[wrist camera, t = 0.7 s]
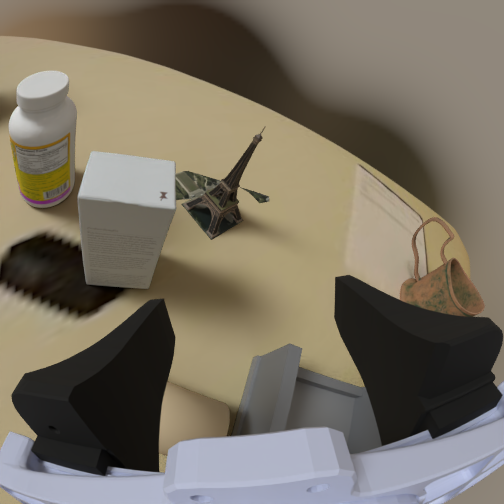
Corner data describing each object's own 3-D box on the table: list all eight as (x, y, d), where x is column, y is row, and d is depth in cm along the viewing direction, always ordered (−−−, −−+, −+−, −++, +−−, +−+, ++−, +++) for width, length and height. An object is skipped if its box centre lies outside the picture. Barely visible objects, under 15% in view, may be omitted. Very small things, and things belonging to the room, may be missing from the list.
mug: (395, 242, 49) (443, 204, 40) (443, 320, 45) (495, 292, 36) (368, 266, 42) (429, 222, 33) (425, 357, 38) (490, 329, 29)
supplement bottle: (35, 160, 26) (32, 62, 16) (82, 170, 29) (93, 69, 19) (10, 204, 22) (-9, 101, 13) (62, 216, 25) (58, 109, 15)
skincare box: (149, 249, 28) (179, 160, 19) (148, 290, 26) (178, 210, 17) (89, 243, 25) (90, 148, 16) (84, 285, 23) (76, 198, 14)
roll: (213, 405, 23) (239, 400, 19) (196, 463, 20) (219, 472, 15) (111, 362, 21) (112, 347, 17) (87, 421, 18) (81, 422, 13)
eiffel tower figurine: (268, 198, 40) (325, 126, 30) (272, 263, 35) (346, 191, 24) (160, 166, 34) (194, 73, 24) (142, 232, 29) (174, 128, 19)
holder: (346, 466, 24) (388, 467, 20) (228, 446, 21) (259, 453, 17) (359, 393, 30) (398, 382, 25) (253, 357, 27) (286, 342, 22)
